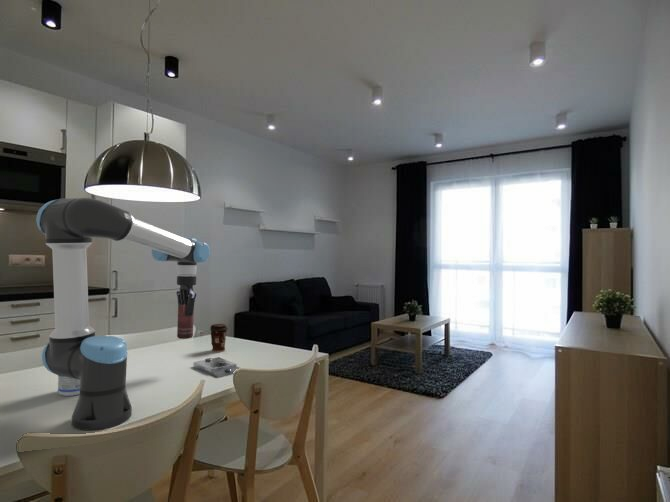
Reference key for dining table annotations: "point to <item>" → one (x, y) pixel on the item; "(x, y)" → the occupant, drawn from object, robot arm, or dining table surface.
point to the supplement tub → (68, 386)
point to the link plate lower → (221, 372)
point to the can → (184, 323)
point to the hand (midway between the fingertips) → (185, 332)
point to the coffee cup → (218, 337)
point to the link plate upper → (213, 361)
